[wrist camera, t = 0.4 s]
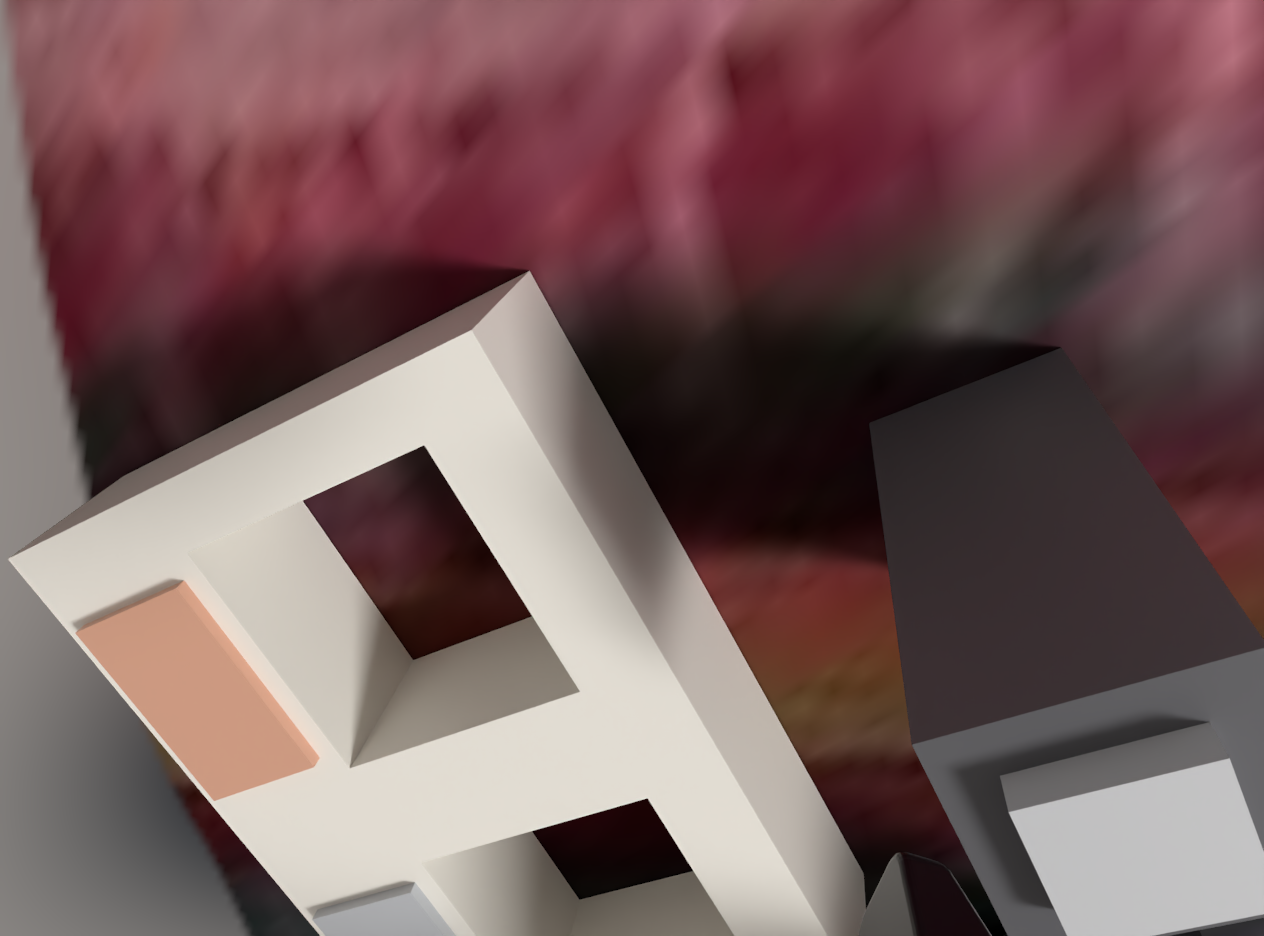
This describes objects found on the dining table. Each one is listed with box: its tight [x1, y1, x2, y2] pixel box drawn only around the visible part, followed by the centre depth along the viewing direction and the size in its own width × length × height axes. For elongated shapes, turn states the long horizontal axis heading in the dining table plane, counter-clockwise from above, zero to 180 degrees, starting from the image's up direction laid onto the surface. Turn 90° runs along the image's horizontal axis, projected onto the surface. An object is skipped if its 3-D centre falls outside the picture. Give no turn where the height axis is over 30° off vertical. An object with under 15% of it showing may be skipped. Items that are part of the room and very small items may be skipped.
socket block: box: [8, 271, 866, 936], centre depth 24 cm, size 18×12×4 cm, turn 28°
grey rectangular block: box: [869, 348, 1264, 936], centre depth 16 cm, size 4×4×11 cm
